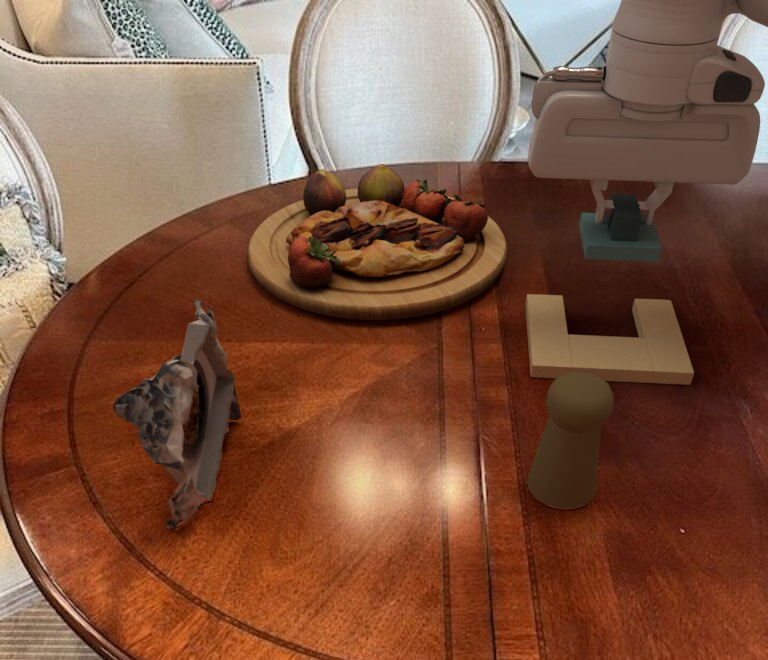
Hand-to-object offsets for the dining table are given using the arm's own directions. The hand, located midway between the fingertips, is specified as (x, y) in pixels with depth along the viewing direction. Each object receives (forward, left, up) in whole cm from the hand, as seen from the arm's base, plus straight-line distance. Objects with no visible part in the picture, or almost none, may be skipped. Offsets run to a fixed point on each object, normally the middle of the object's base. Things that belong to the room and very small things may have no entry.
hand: (622, 222), depth 78 cm
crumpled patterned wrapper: (+38, +27, -12) cm, 48 cm away
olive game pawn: (+6, +26, -12) cm, 30 cm away
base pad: (0, +3, -12) cm, 12 cm away
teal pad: (0, 0, -2) cm, 2 cm away
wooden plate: (+26, -14, -12) cm, 32 cm away
